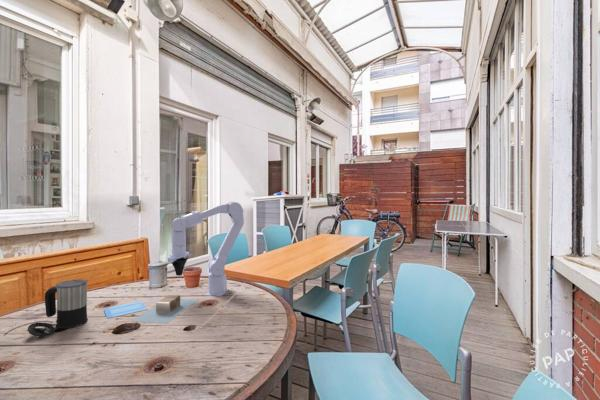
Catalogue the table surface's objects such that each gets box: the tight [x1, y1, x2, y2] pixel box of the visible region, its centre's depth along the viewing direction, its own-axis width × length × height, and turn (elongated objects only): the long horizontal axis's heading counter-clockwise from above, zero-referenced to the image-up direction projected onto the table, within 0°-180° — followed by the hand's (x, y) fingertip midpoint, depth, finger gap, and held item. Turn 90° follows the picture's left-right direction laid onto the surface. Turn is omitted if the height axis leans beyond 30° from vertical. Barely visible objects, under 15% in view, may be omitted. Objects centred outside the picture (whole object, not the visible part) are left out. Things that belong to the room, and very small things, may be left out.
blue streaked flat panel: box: [103, 301, 148, 319], centre depth 119 cm, size 14×12×1 cm
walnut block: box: [155, 294, 181, 314], centre depth 119 cm, size 4×5×9 cm
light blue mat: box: [131, 298, 199, 324], centre depth 119 cm, size 24×14×1 cm, turn 173°
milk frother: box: [27, 279, 89, 338], centre depth 103 cm, size 14×16×15 cm
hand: (179, 275), depth 133 cm, fingers closed
